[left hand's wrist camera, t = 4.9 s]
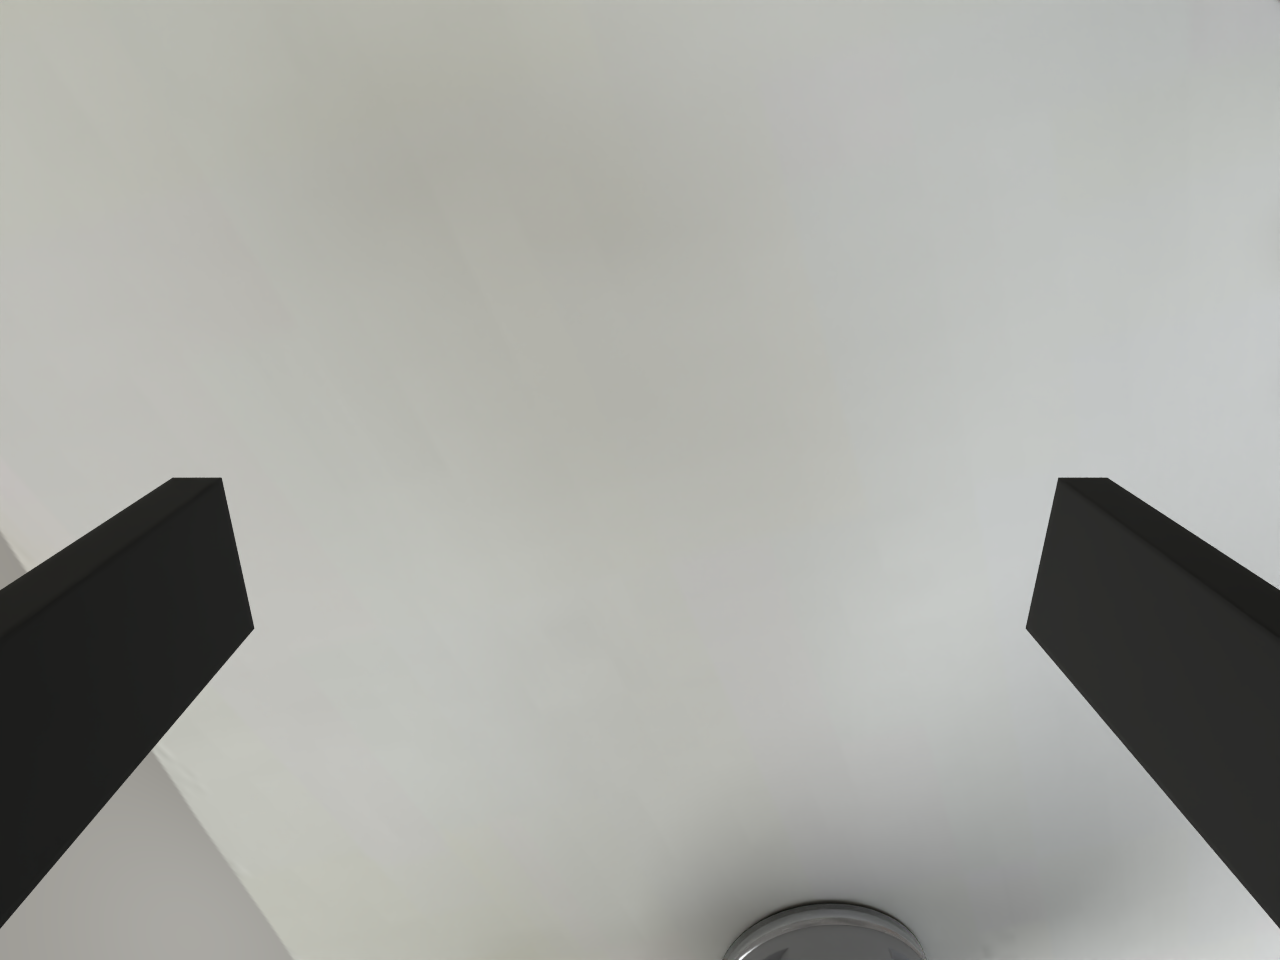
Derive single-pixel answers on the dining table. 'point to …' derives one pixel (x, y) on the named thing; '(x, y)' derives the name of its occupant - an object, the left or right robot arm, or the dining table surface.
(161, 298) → the dining table surface
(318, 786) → the dining table surface
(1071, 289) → the dining table surface
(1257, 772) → the left robot arm
